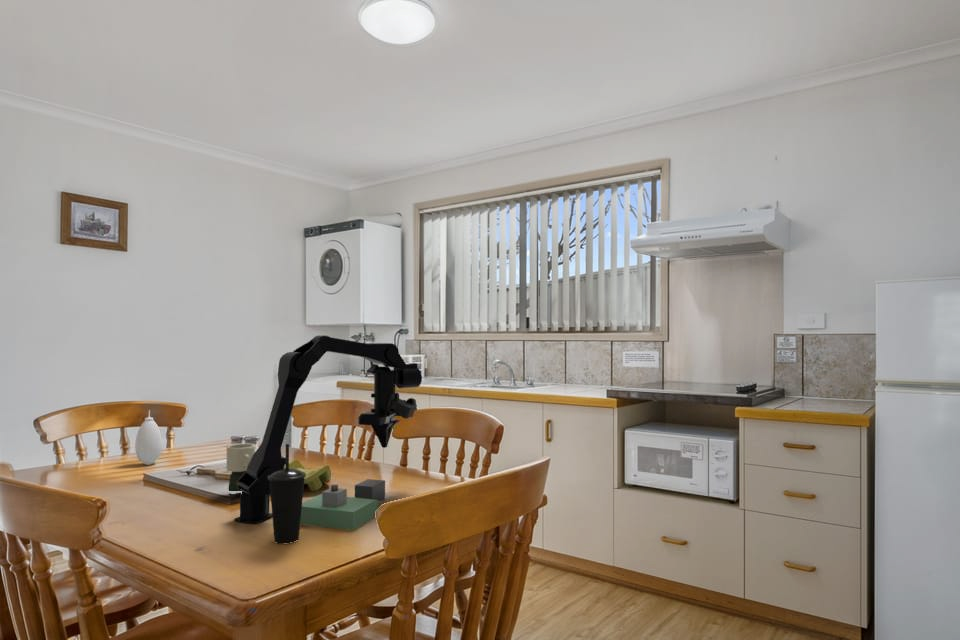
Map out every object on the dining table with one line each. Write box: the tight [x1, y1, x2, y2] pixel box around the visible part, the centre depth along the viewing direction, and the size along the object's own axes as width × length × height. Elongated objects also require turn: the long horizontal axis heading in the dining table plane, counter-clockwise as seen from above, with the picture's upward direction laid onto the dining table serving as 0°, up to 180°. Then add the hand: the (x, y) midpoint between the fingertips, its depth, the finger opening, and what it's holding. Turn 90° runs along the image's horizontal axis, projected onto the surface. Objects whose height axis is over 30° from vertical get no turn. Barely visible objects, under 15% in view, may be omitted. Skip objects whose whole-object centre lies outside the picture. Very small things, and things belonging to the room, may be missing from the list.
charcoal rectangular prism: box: [354, 478, 386, 503], centre depth 157 cm, size 7×5×5 cm
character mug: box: [226, 443, 256, 491], centre depth 164 cm, size 11×7×13 cm, turn 42°
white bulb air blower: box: [134, 409, 163, 466], centre depth 201 cm, size 8×8×18 cm
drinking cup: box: [268, 443, 306, 544], centre depth 128 cm, size 8×8×20 cm
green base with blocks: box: [300, 484, 380, 531], centre depth 145 cm, size 17×15×8 cm
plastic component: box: [284, 459, 332, 492], centre depth 173 cm, size 20×7×10 cm
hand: (384, 447), depth 165 cm, fingers closed
